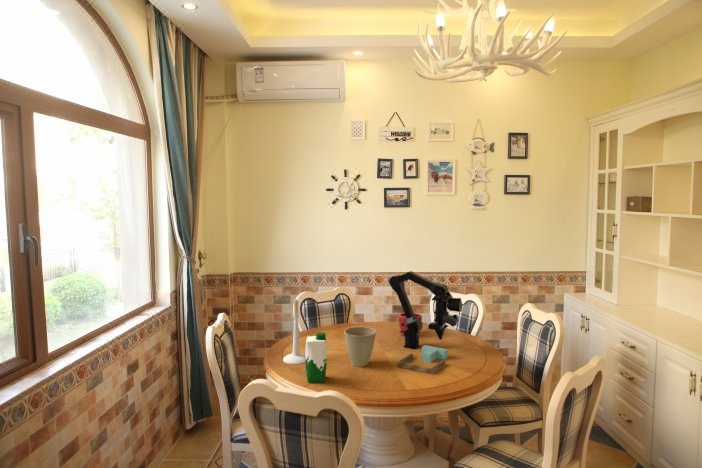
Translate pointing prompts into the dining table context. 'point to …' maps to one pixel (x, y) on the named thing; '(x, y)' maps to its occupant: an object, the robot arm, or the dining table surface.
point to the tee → (433, 353)
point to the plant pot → (360, 344)
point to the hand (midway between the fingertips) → (440, 339)
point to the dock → (406, 365)
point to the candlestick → (295, 342)
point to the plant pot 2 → (405, 322)
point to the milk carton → (316, 358)
